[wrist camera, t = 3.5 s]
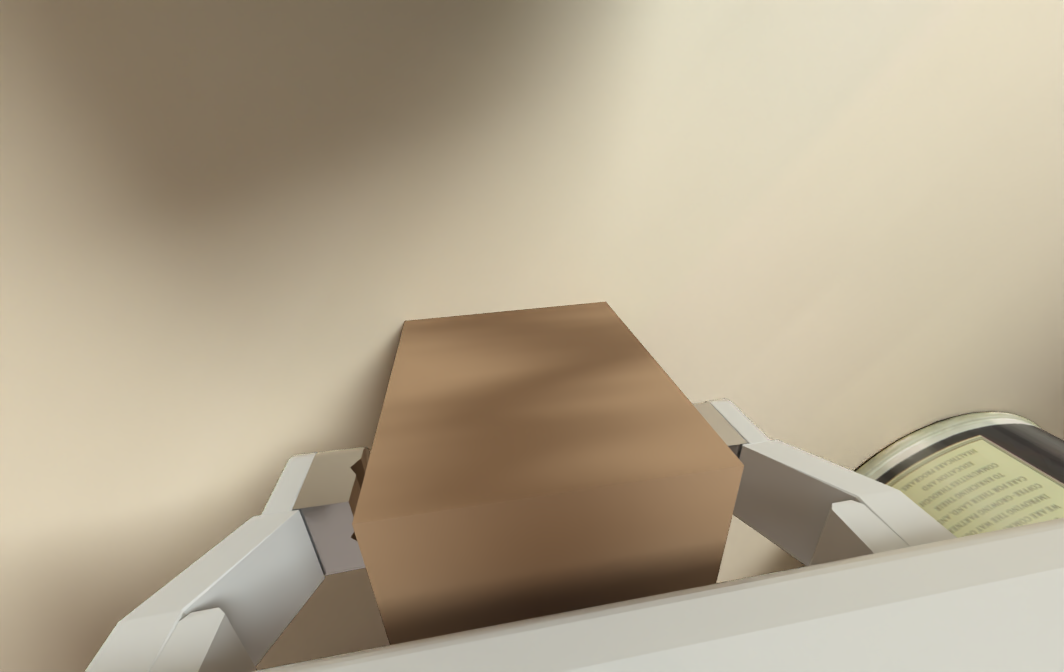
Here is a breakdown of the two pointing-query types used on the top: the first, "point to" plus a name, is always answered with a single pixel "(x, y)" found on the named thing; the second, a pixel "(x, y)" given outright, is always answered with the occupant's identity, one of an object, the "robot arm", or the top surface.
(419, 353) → the walnut block
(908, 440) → the coffee can
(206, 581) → the robot arm
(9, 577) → the top surface
